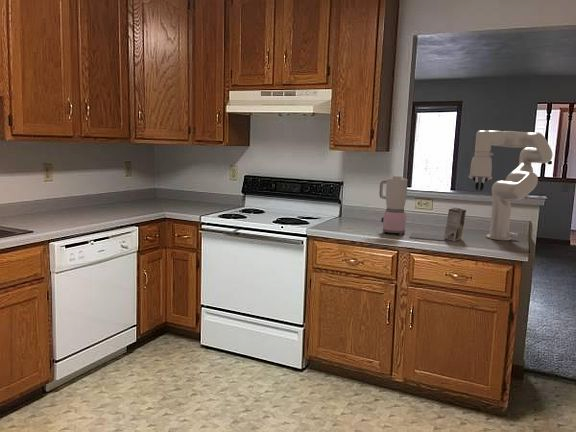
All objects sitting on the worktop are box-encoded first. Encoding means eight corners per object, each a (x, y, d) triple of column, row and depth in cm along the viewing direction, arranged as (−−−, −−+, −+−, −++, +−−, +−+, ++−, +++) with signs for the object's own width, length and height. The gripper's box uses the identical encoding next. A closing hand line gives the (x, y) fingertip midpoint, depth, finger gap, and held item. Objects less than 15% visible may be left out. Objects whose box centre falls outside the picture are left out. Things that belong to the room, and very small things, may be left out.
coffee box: (449, 236, 268) (455, 207, 265) (461, 239, 264) (466, 209, 261) (443, 238, 261) (448, 208, 258) (455, 241, 257) (460, 211, 254)
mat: (444, 236, 271) (445, 235, 271) (444, 241, 257) (444, 240, 257) (411, 233, 277) (411, 232, 276) (409, 237, 262) (409, 237, 262)
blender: (407, 232, 278) (411, 176, 273) (402, 236, 267) (406, 177, 262) (380, 229, 285) (383, 174, 280) (374, 232, 274) (377, 175, 269)
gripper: (497, 155, 253) (494, 190, 256) (466, 154, 258) (463, 188, 261) (499, 155, 246) (495, 192, 249) (466, 154, 251) (463, 190, 254)
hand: (479, 190), depth 255 cm, fingers closed
